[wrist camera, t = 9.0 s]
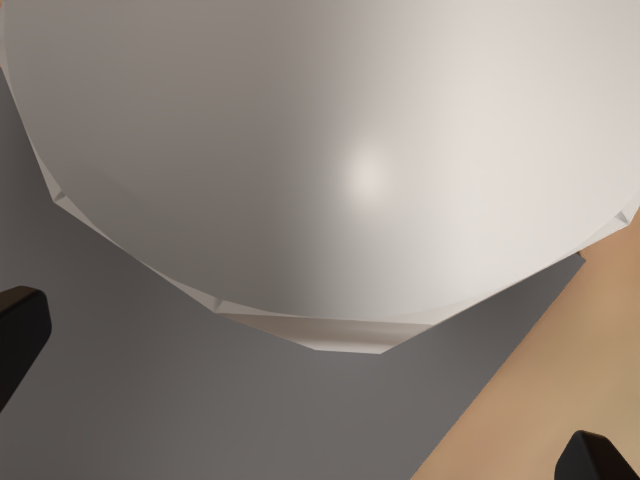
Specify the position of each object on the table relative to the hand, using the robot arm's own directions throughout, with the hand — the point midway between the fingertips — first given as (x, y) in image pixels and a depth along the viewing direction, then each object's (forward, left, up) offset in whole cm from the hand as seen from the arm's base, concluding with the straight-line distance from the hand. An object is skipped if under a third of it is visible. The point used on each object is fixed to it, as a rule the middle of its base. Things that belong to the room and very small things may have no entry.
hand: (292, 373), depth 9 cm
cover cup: (+2, -4, -8) cm, 9 cm away
